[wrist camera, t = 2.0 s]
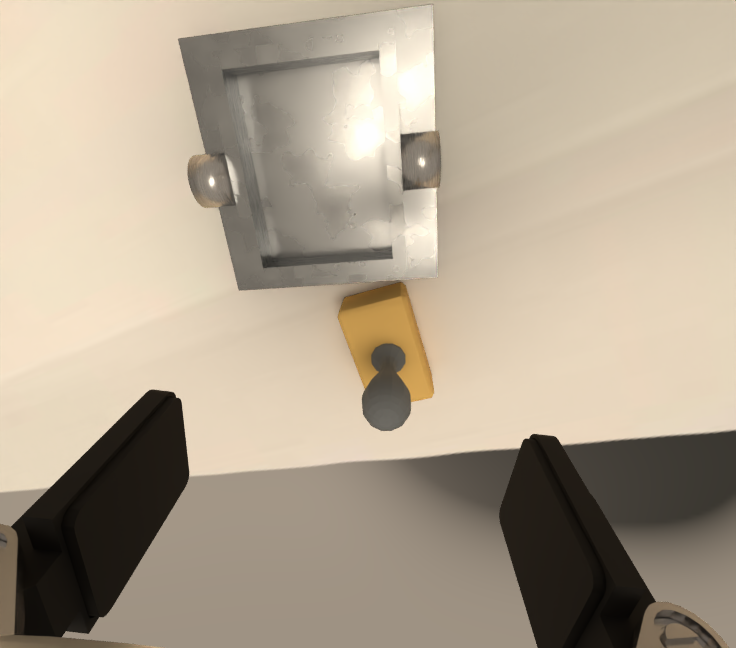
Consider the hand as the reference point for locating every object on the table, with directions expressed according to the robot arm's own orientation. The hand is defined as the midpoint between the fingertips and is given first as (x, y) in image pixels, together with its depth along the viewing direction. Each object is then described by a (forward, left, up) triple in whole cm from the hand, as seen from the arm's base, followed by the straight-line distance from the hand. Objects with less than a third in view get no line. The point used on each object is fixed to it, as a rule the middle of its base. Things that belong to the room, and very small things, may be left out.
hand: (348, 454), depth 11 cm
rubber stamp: (0, +9, -24) cm, 26 cm away
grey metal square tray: (+4, -6, -24) cm, 25 cm away
